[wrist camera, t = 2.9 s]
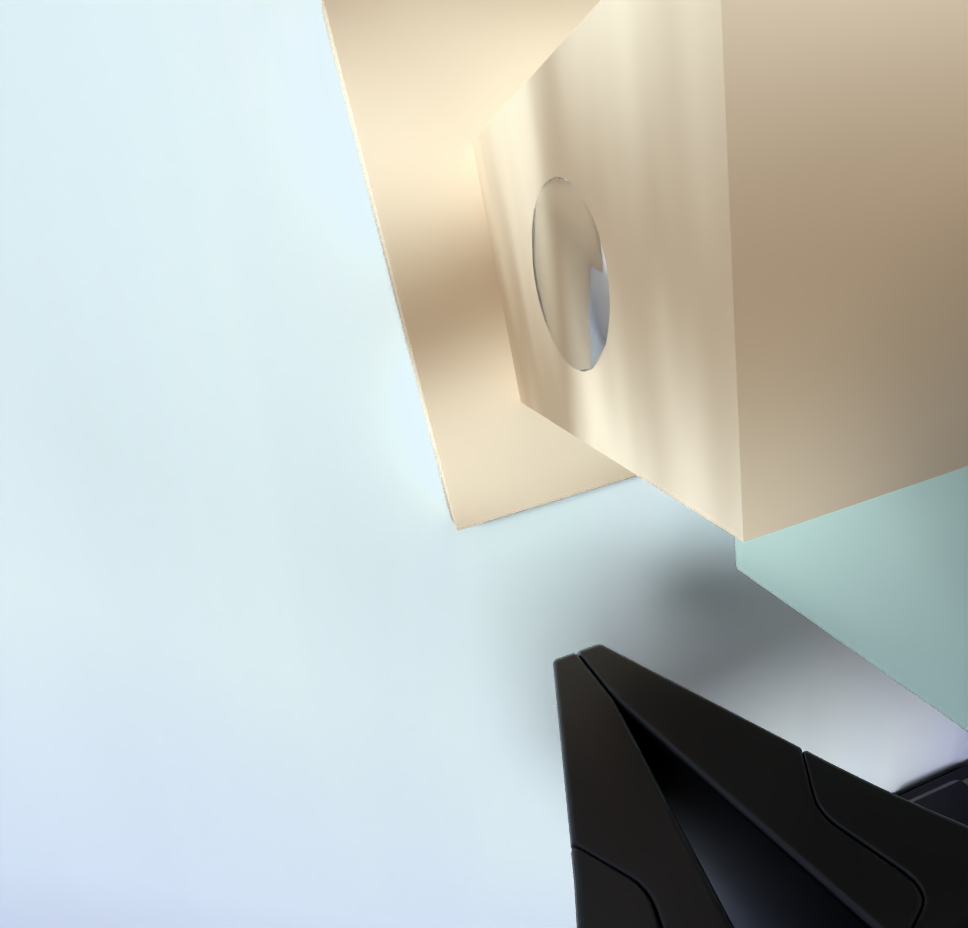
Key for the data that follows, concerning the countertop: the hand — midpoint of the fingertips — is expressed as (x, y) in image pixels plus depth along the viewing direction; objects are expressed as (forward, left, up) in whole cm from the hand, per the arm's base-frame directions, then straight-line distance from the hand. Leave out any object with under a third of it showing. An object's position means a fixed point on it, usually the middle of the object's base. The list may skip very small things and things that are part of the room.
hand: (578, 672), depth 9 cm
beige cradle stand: (+6, -16, -5) cm, 18 cm away
